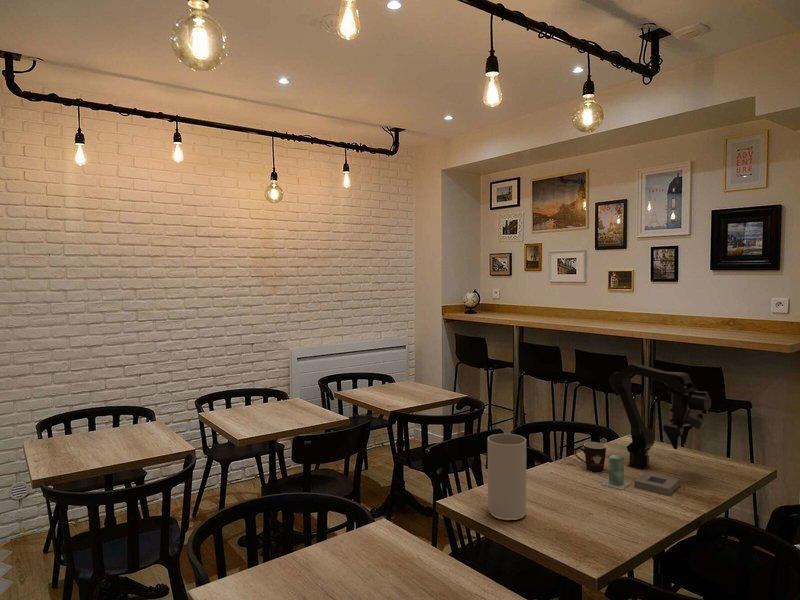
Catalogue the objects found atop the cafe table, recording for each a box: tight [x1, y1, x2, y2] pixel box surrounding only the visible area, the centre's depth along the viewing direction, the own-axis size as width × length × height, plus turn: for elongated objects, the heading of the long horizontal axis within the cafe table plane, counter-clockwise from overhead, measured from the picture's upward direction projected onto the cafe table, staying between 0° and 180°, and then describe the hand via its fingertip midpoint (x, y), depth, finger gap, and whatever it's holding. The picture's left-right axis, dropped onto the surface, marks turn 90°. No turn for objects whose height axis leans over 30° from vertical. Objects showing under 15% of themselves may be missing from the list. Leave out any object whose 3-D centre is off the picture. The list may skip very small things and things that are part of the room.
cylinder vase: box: [487, 433, 528, 518], centre depth 181 cm, size 12×12×25 cm
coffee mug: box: [574, 441, 608, 473], centre depth 222 cm, size 12×9×10 cm
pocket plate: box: [633, 471, 681, 497], centre depth 202 cm, size 12×12×2 cm
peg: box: [608, 454, 625, 486], centre depth 205 cm, size 4×4×10 cm
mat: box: [600, 478, 632, 491], centre depth 205 cm, size 8×8×1 cm
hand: (679, 446), depth 211 cm, fingers open, 9 cm apart
